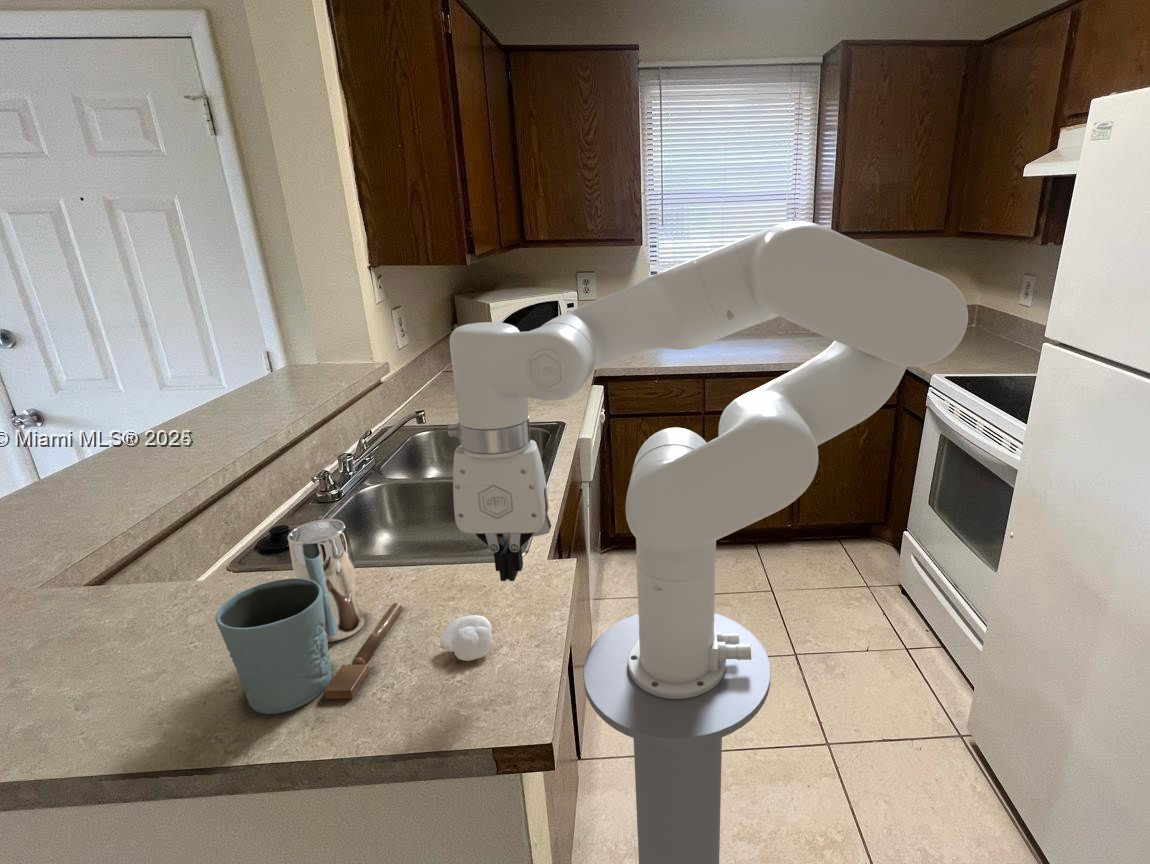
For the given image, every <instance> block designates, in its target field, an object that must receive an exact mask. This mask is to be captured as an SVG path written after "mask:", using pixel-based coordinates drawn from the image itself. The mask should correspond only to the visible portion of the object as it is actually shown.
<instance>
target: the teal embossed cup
mask: <svg viewBox="0 0 1150 864" xmlns="http://www.w3.org/2000/svg"><path fill="white" fill-rule="evenodd" d="M215 623H216V625H217V627H218V630H219V632H220V634H221V637H222V639H223V641H224V643H225V646H226V649H227V651H228V652H229V657H230V658H231V659H232V660H231V662H232V663H233V665H234V667H235V669H236V673H237V675H238V677H239V679H238V680H239V681H240V685H241V686H242V689H243V691H245V696H246V700H247V701H248V704H249V706H250V707H251V709H253V710H254V711H255V712H257V713H259V714H264V715H277V714H282V713H286V712H290V711H293V710H296V709H298V708H301V707H303V706H305V705H307V704H308V703H310V702H312V701H313V700H315V699H316V698H317V697H318V696H320V695H321V694H322V693H324V690H325V688H326V687H327V686H328V684H329V683H330V681H331V680H332V665H331V659H330V658H331V657H330V653H329V651H328V650H329V646H328V645H329V644H328V643H329V642H328V640H327V634H326V632H325V629H324V628H325V616H324V609H323V595H322V589H321V586H320V585H319V584H318V583H316V582H315V581H312V580H309V579H304V578H296V577H292V578H283V579H276V580H272V581H268V582H264V583H260V584H257V585H256V586H252V587H249V588H247V589H245V590H243V591H241V592H239V593H237V594H236V595H234V596H232V597H231V598H229V599H228V600H227V601H225V602H224V603H223V604H222V606H221V607H219V609H218V610H217V612H216V614H215Z"/></svg>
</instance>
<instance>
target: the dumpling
mask: <svg viewBox="0 0 1150 864" xmlns="http://www.w3.org/2000/svg"><path fill="white" fill-rule="evenodd" d="M441 633H442V634H441V637H440V639H439V643H440V647H441V648H442V650H444V651H446V652H449V653H450V652H453V653H454V656H455V657H456V658H457V659H458V660H460V661H465V662H470V661H474V660H477V659H482V658H483V657H485V656H486V655H487V654H488V653H489V651H490V649H491V647H492V644H493V636H492V624H491V623H490V621H489V620H488V619H487V617H485V616H482V615H476V614H474V615H473V614H472V615H467V616H459V617H456V618H455V619H454V620H452V621H451V622H450V623H449V624H448V625H447V626H446V627H445V629H442V630H441Z"/></svg>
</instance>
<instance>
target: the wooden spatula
mask: <svg viewBox="0 0 1150 864" xmlns="http://www.w3.org/2000/svg"><path fill="white" fill-rule="evenodd" d="M402 610H403V606H402V604H401V603H398V602H395V603H392V604H391V605H390V606H389V608H388V609H387V611H386V612H385V613H384V615H383V616H382V617H381V619H380V621H379V622H378V623H377V625H376V626H375V627H374V629H373V630H372V632H371V633H370V635H369V636H368V637H367V639H366V640H365V642H364V643H363V644H362V646H361V647H360V649H359V650H358V652H357V653H356V654H355V656H354V658H353V659H352V661H351V664H341V666H340V668H339V669H338V670H337V672H335V675H333V677H332V678H331V680H330V682H329V684H328V686H327V687H326V688H325V689H324V691H323V693H324V697H325V699H326V700H331V699H333V700H334V699H337V700H338V699H354V698H355V696H356V694H357V693H358V691H359V690H360V688H361V687H362V685H363V684H364V682H365V680H366V679H367V677H368V676H369V674H370V673H371V671H370V668H369V664H367V663H368V662H369V661H370V659H371V657H372V656H373V654H375V651H376V650H377V649H378V647H379V645H380V644H381V642H382V641H383V639H384V638H385V636H386V635H387V634H388V632H389V631H390V628H392V626H393V624H394V623H395V622H396V621H397V618H398V617H399V615H400V614H401V612H402Z"/></svg>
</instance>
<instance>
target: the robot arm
mask: <svg viewBox="0 0 1150 864" xmlns="http://www.w3.org/2000/svg"><path fill="white" fill-rule="evenodd" d="M778 317H780V318H782V319H785V320H787V321H789V323H793V324H794V325H797V326H799V327H801V328H804V329H806V330H808V331H811V332H813V333H815V334H817V335H820V336H821V337H824V338H827V339H829V340H832V341H833V342H832V343H831V344H830V345H829V346H828V347H827V348H826V349H825V350H824V351H822V352H821V353H819V354H818V355H816V356H815V357H813V358H811V359H810V360H808V361H806V362H804V363H803V364H801V365H800V366H798V367H796V368H794V369H792V370H790V371H788V372H787V373H784V374H782V375H780V376H779V377H777V378H775V379H773V380H771V381H769V382H767V383H765V384H763V385H761V386H759V387H757V388H755V389H753V390H750V391H748V392H746V393H744V394H742V395H741V396H739V397H737V398H735V399H733V400H732V401H731V402H730V403H729V404H728V405H727V406H726V407H725V408H724V410H723V411H722V413H721V416H720V418H719V422H718V435H717V436H718V437H716V438H713V439H712V440H709V441H706V440H705V439H704V438H703V437H702V436H700V435H699V434H698V433H696V432H694V431H692V430H690V429H687V428H682V427H668V428H664V429H661V430H659V431H657V432H655V433H653V434H652V435H651V436H650V437H648V439H646V440H645V441H644V442H643V444H642V445H641V447H640V448H639V450H638V452H637V454H636V456H635V460H634V463H633V465H632V470H631V473H630V474H631V475H630V478H629V484H628V488H627V491H626V498H625V510H624V511H625V518H626V522H627V525H628V528H629V530H630V532H631V534H632V535H633V537H634V538H635V547H636V548H635V552H636V553H635V555H636V560H635V561H636V585H637V614H638V617H639V640H638V641H637V642H636V643H635V644H634V645H633V647H632V648H631V650H630V652H629V656H628V669H629V673H630V676H631V678H632V679H633V681H634V682H635V683H636V684H637V685H638V686H639V687H640V688H641V689H643V690H644V691H646V692H648V693H650V694H652V695H655V696H658V697H662V698H667V699H686V698H691V697H695V696H699V695H701V694H704V693H706V692H708V691H709V690H711V689H712V688H714V687H715V686H716V685H717V684H718V683H719V682H720V680H721V679H722V677H723V675H724V673H725V669H726V659H737V660H751V645H750V644H739V633H731V634H721V633H720V632H716V625H715V621H714V613H716V611H715V607H716V605H715V604H716V602H715V600H716V593H715V592H716V561H717V541H718V540H720V539H723V538H724V537H726V536H729V535H731V534H733V533H735V532H737V531H739V530H741V529H744V528H746V527H748V526H750V525H752V524H755V523H756V522H759V521H760V520H763V519H765V518H767V517H769V516H771V515H773V514H775V513H777V512H780V511H781V510H783V509H784V508H786V507H788V506H790V505H791V504H792V503H794V502H795V501H796V500H797V499H798V498H800V497H801V496H802V495H803V494H804V493H805V492H806V491H807V489H808V488H809V486H811V484H812V482H813V480H814V479H815V476H816V474H817V470H818V466H819V449H818V447H819V446H820V445H822V444H824V443H826V442H827V441H830V440H831V439H834V438H835V437H837V436H839V435H841V434H842V433H844V432H846V431H848V430H850V429H851V428H853V427H855V426H857V425H858V424H861V423H862V422H864V421H865V420H867V419H869V418H870V417H871V416H872V415H873V414H875V413H876V412H877V411H878V410H880V409H881V407H883V405H885V403H886V402H887V401H888V400H889V399H890V398H891V397H892V395H893V393H895V391H896V389H897V387H898V386H899V384H900V383H901V380H902V378H903V376H904V374H905V372H906V370H907V368H908V367H909V368H919V367H925V366H929V365H930V366H931V365H933V364H935V363H938V362H940V361H942V360H944V359H945V358H947V357H948V356H950V354H951V353H952V352H954V351H955V350H956V349H957V347H958V346H959V344H960V343H961V342H962V340H963V338H964V336H965V334H966V332H967V329H968V323H969V311H968V305H967V301H966V300H965V296H964V295H963V293H962V291H961V290H960V288H958V286H957V285H956V284H954V283H953V282H952V281H951V280H950V279H949V278H947V277H945V276H943V275H941V274H939V273H937V272H935V271H931V270H929V269H926V268H924V267H921V266H919V265H917V264H914V263H911V262H909V261H906V260H904V259H901V258H899V257H897V256H894V255H892V254H890V253H887V252H884V251H881V250H879V249H877V248H874V247H873V246H870V245H867V244H865V243H862V242H860V241H858V240H856V239H853V238H851V237H849V236H847V235H844V234H842V233H841V232H838V231H836V230H834V229H831V228H829V227H828V226H825V225H821V224H818V223H815V222H811V221H795V220H794V221H786V222H782V223H779V224H775V225H773V226H770V227H768V228H765V229H763V230H761V231H758V232H755V233H754V234H751V235H748V236H745V237H744V238H741V239H738V240H736V241H734V242H731V243H729V244H727V245H724V246H722V247H719V248H717V249H715V250H711V251H709V252H707V253H704V254H703V255H700V256H698V257H695V258H693V259H690V260H687V261H685V262H682V263H679V264H677V265H675V266H672V267H669V268H668V269H665V270H662V271H660V272H658V273H655V274H653V275H651V276H649V277H647V278H646V279H644V280H642V281H640V282H638V283H636V284H634V285H631V286H629V287H626V288H624V289H622V290H619V291H616V292H614V293H611V294H609V295H606V296H604V297H601V298H599V299H596V300H594V301H591V302H589V303H587V304H584V305H581V306H579V307H577V308H574V309H572V310H569V311H567V312H564V313H561V314H560V315H558V316H556V317H554V318H552V319H550V320H549V321H546V322H544V323H543V324H542V325H540V327H536V328H534V329H531V330H528V331H520V330H519V328H518V327H516V326H515V325H513V324H510V323H506V322H499V321H498V322H497V321H496V322H493V321H485V322H474V323H473V322H472V323H466V324H463V325H460V326H457V327H456V328H454V329H453V331H452V332H451V333H450V336H449V351H450V357H451V359H450V361H451V366H452V367H451V368H452V376H453V383H454V391H455V401H456V407H457V417H458V422H457V423H455V424H448V425H447V435H448V437H454V438H455V439H456V438H457V439H458V440H459V445H458V446H457V447H456V448H455V449H454V453H453V466H452V467H453V468H452V488H453V489H452V493H453V495H452V497H453V498H452V499H453V512H454V521H455V525H456V528H457V529H458V532H459V533H460V534H462V535H465V536H471V537H477V538H478V539H479V540H480V541H482V542H483V543H484V544H486V545H487V546H488V549H489V551H490V552H492V553H493V558H494V567H495V571H496V572H499V578H500V579H499V580H500V582H506V581H509V582H515V580H516V578H517V575H518V573H519V572H522V571H523V568H524V558H523V549H522V548H523V546H524V545H525V544H526V543H527V542H528V541H529V540H530V539H531V538H532V537H539V536H545V535H548V534H549V533H550V531H551V528H552V523H551V519H550V517H549V515H548V512H549V494H548V488H547V480H546V475H545V471H544V465H543V461H542V458H541V453H540V450H539V447H538V444H537V442H536V441H535V440H533V439H532V438H531V426H530V415H529V414H530V413H529V401H528V398H531V399H536V400H543V401H553V402H554V401H562V400H566V399H568V398H571V397H572V396H574V395H576V394H577V393H578V392H579V391H581V389H582V388H583V386H584V385H585V383H586V382H587V380H588V379H589V377H590V376H591V375H592V373H593V372H594V371H596V370H599V369H602V368H603V367H606V366H609V365H611V364H613V363H616V362H619V361H621V360H624V359H627V358H630V357H632V356H634V355H638V354H641V353H645V352H648V351H653V350H660V349H669V350H678V351H679V350H680V351H683V350H684V351H685V350H692V349H696V348H700V347H702V346H706V345H708V344H710V343H712V342H716V341H718V340H721V339H723V338H725V337H727V336H730V335H733V334H735V333H738V332H741V331H744V330H745V329H748V328H751V327H753V326H756V325H759V324H761V323H765V322H768V321H770V320H773V319H775V318H778ZM505 534H509V539H507V538H506V535H505ZM725 644H729V645H725ZM731 644H736V645H731Z"/></svg>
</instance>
